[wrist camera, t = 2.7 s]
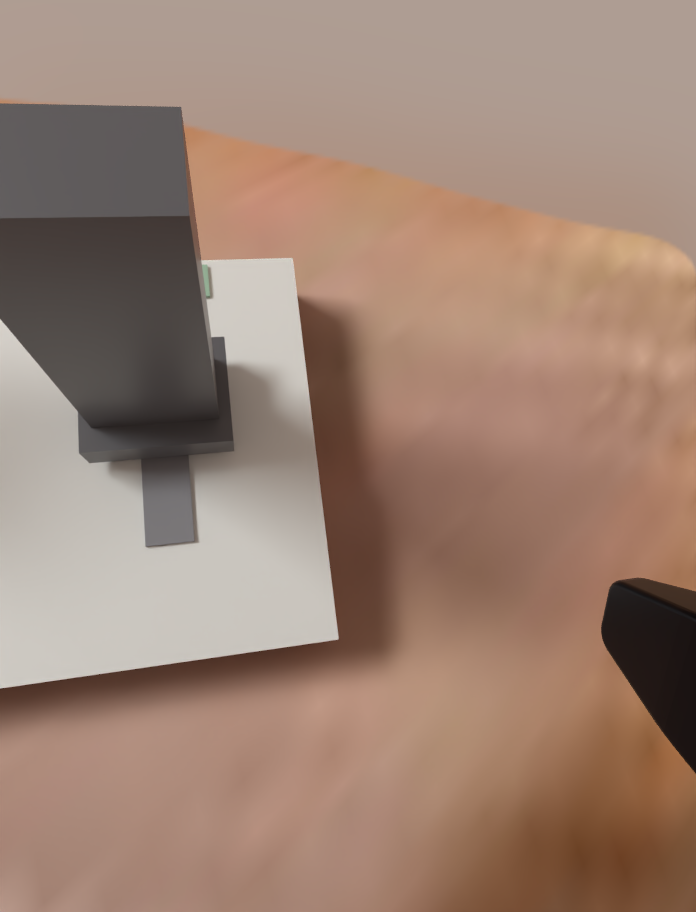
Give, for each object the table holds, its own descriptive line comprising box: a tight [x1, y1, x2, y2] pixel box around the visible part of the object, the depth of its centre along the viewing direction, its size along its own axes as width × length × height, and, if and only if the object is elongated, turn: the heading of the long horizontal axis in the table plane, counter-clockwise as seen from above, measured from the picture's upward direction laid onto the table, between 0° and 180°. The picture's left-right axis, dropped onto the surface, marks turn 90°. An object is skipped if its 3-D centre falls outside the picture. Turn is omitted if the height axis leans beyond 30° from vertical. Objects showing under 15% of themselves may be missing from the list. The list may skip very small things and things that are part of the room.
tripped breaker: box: [0, 104, 234, 463], centre depth 12 cm, size 3×4×9 cm
